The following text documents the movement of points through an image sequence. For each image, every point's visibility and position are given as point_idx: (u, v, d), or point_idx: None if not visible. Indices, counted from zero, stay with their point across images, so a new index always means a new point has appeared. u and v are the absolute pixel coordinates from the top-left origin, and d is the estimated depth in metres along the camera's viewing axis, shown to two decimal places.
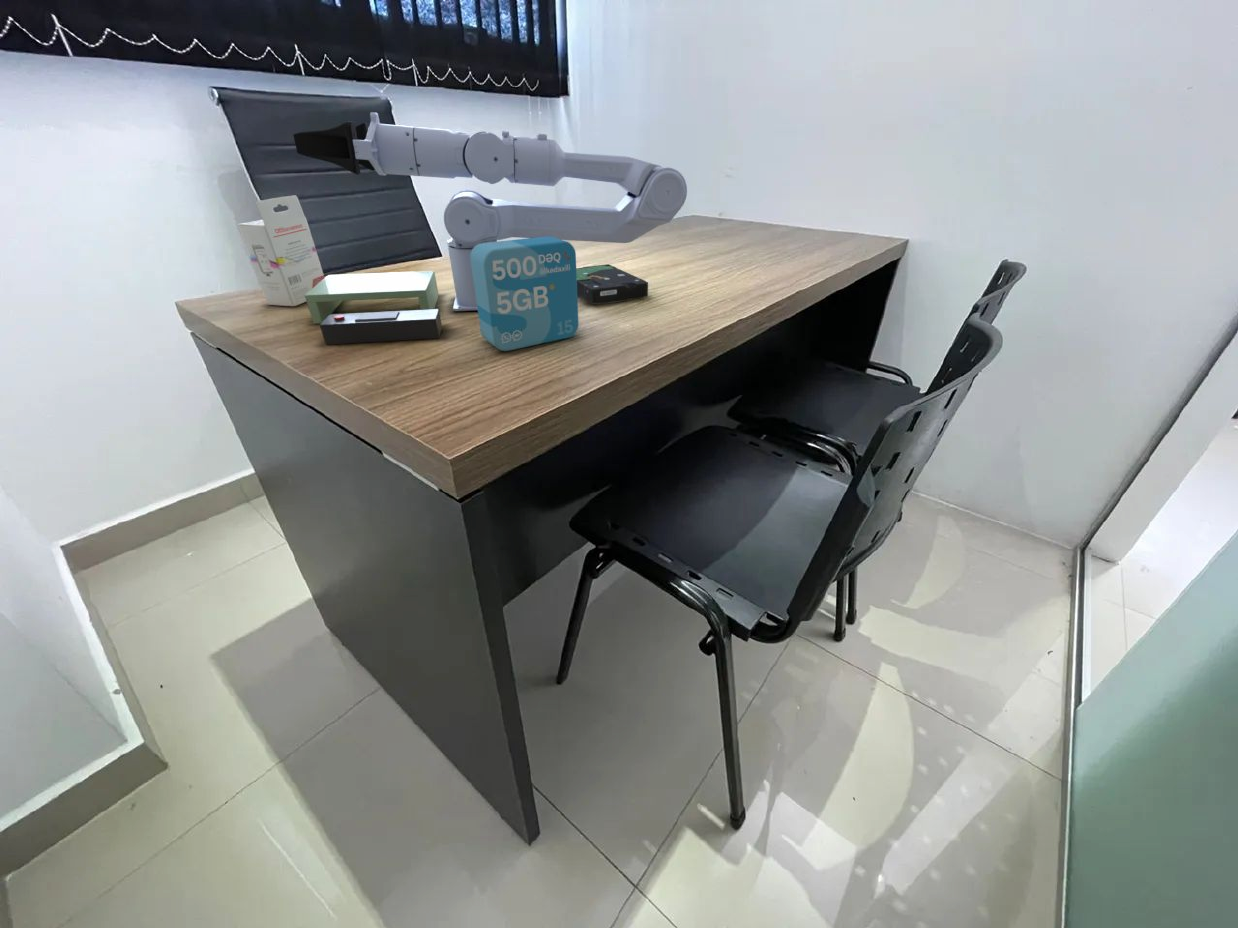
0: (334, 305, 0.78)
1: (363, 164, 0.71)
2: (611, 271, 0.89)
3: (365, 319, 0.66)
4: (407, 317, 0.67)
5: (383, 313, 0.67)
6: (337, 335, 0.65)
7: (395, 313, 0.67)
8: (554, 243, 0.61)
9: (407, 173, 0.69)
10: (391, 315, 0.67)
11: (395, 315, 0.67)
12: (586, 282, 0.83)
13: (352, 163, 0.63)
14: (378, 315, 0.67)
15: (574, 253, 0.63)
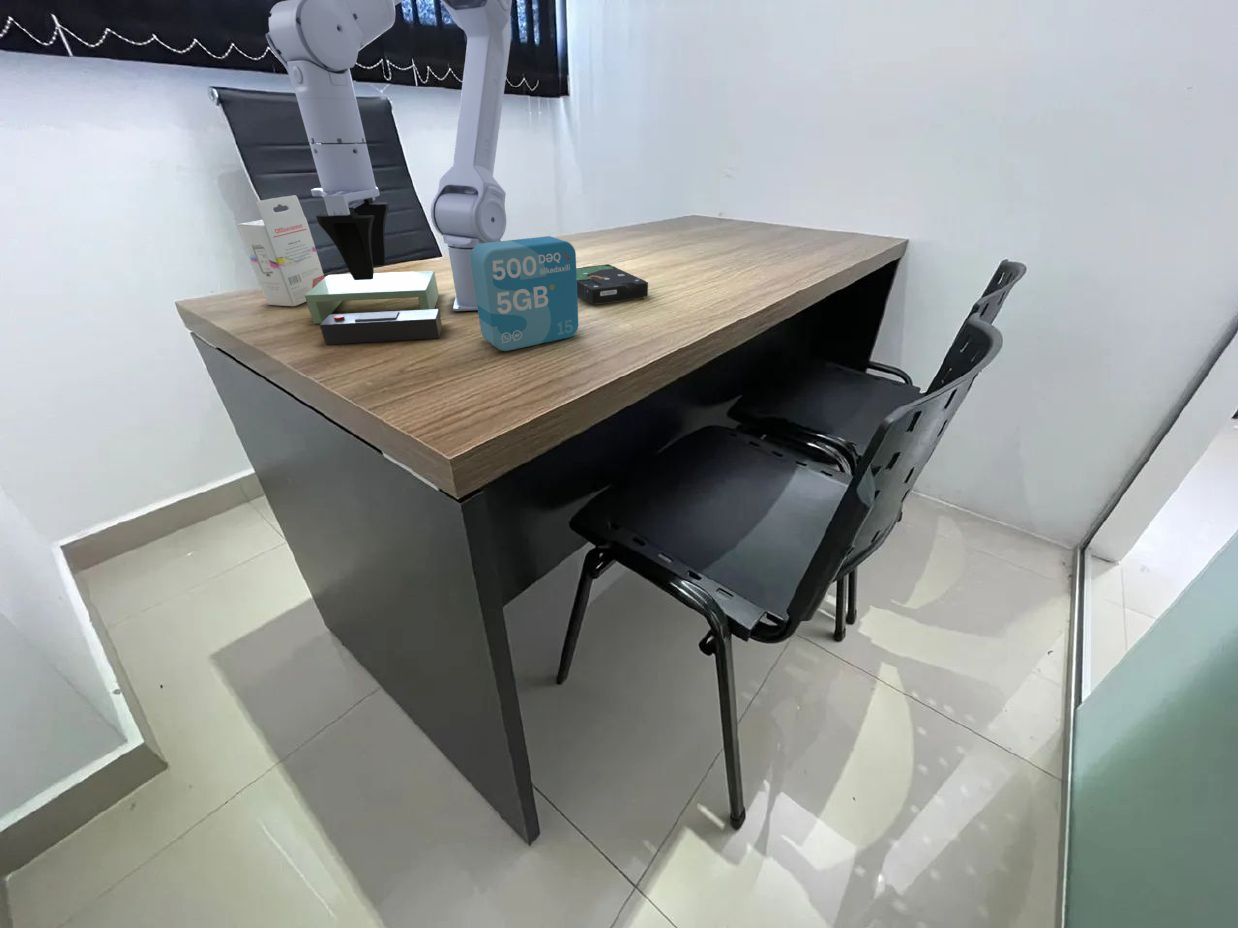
0: (334, 305, 0.78)
1: (382, 216, 0.64)
2: (611, 271, 0.89)
3: (365, 319, 0.66)
4: (407, 317, 0.67)
5: (383, 313, 0.67)
6: (337, 335, 0.65)
7: (395, 313, 0.67)
8: (554, 243, 0.61)
9: (363, 158, 0.57)
10: (391, 315, 0.67)
11: (395, 315, 0.67)
12: (586, 282, 0.83)
13: (358, 221, 0.56)
14: (378, 315, 0.67)
15: (574, 253, 0.63)
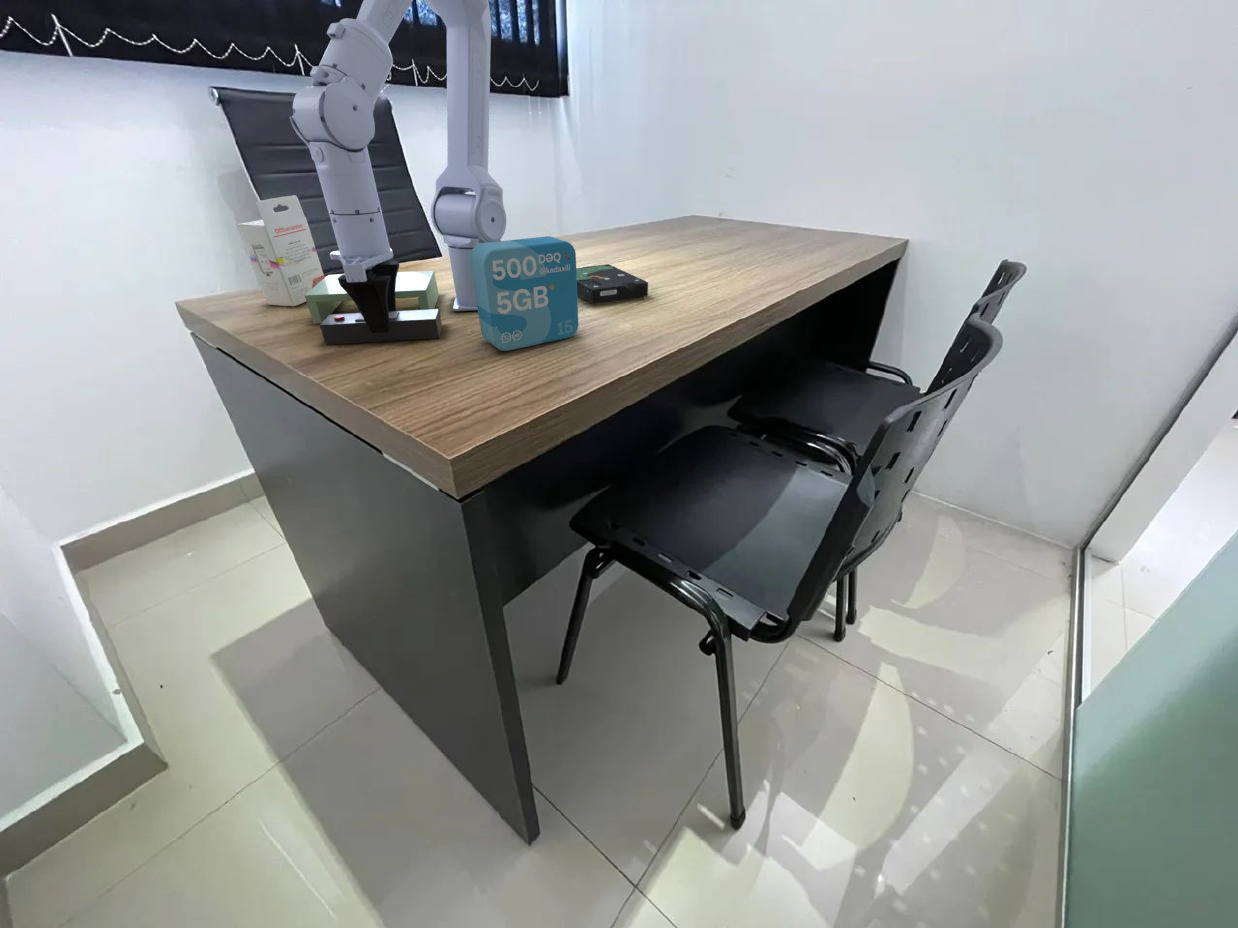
0: (334, 305, 0.78)
1: (393, 275, 0.67)
2: (611, 271, 0.89)
3: None
4: (407, 317, 0.67)
5: None
6: (337, 335, 0.65)
7: (395, 313, 0.67)
8: (554, 243, 0.61)
9: (379, 226, 0.60)
10: (391, 315, 0.67)
11: (395, 315, 0.67)
12: (586, 282, 0.83)
13: (376, 282, 0.60)
14: None
15: (574, 253, 0.63)
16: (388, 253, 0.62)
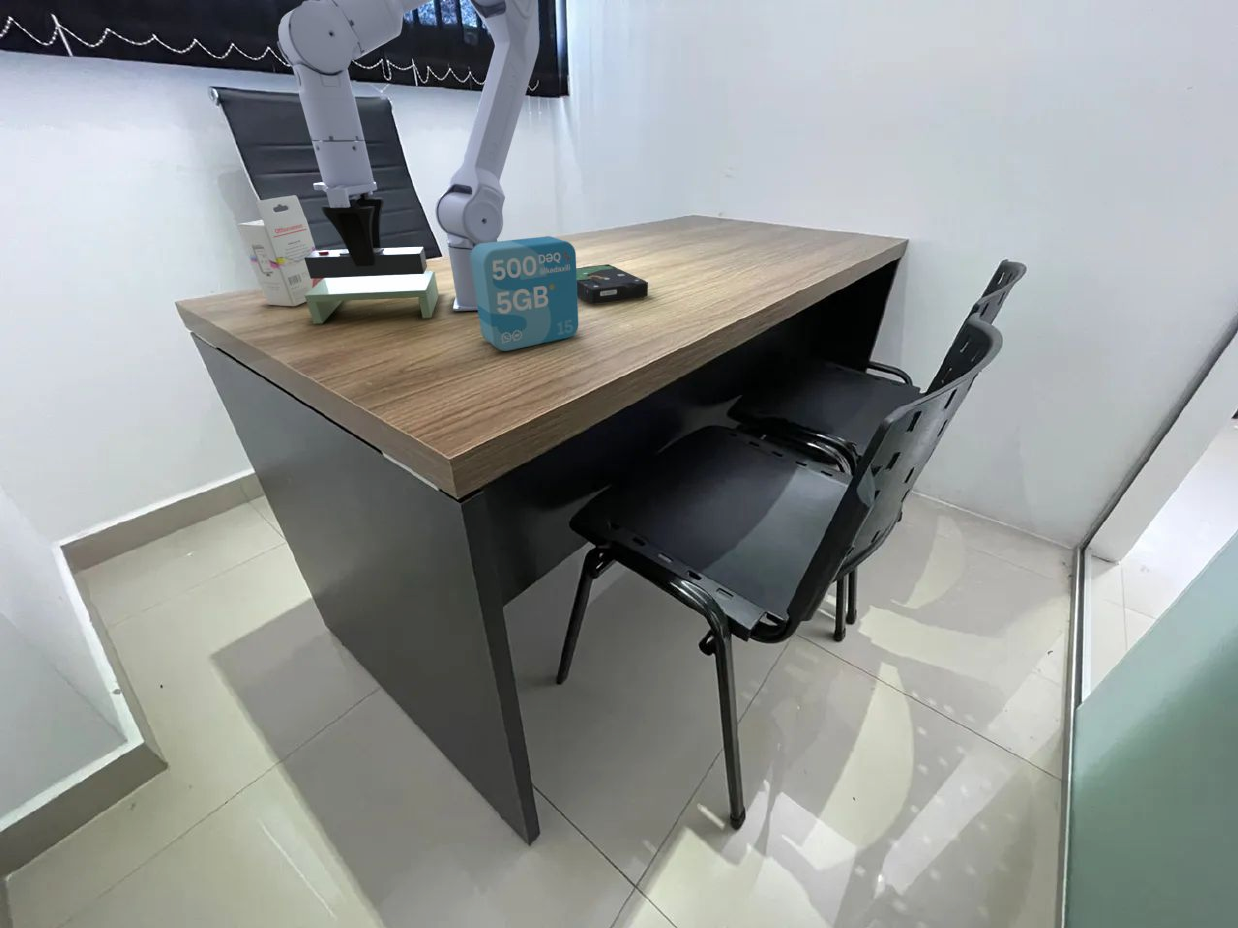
0: (334, 305, 0.78)
1: (377, 210, 0.67)
2: (611, 271, 0.89)
3: None
4: (391, 252, 0.67)
5: None
6: (321, 268, 0.66)
7: (380, 249, 0.68)
8: (554, 243, 0.61)
9: (362, 155, 0.61)
10: (375, 250, 0.67)
11: (379, 250, 0.67)
12: (586, 282, 0.83)
13: (360, 211, 0.61)
14: None
15: (574, 253, 0.63)
16: (372, 184, 0.63)
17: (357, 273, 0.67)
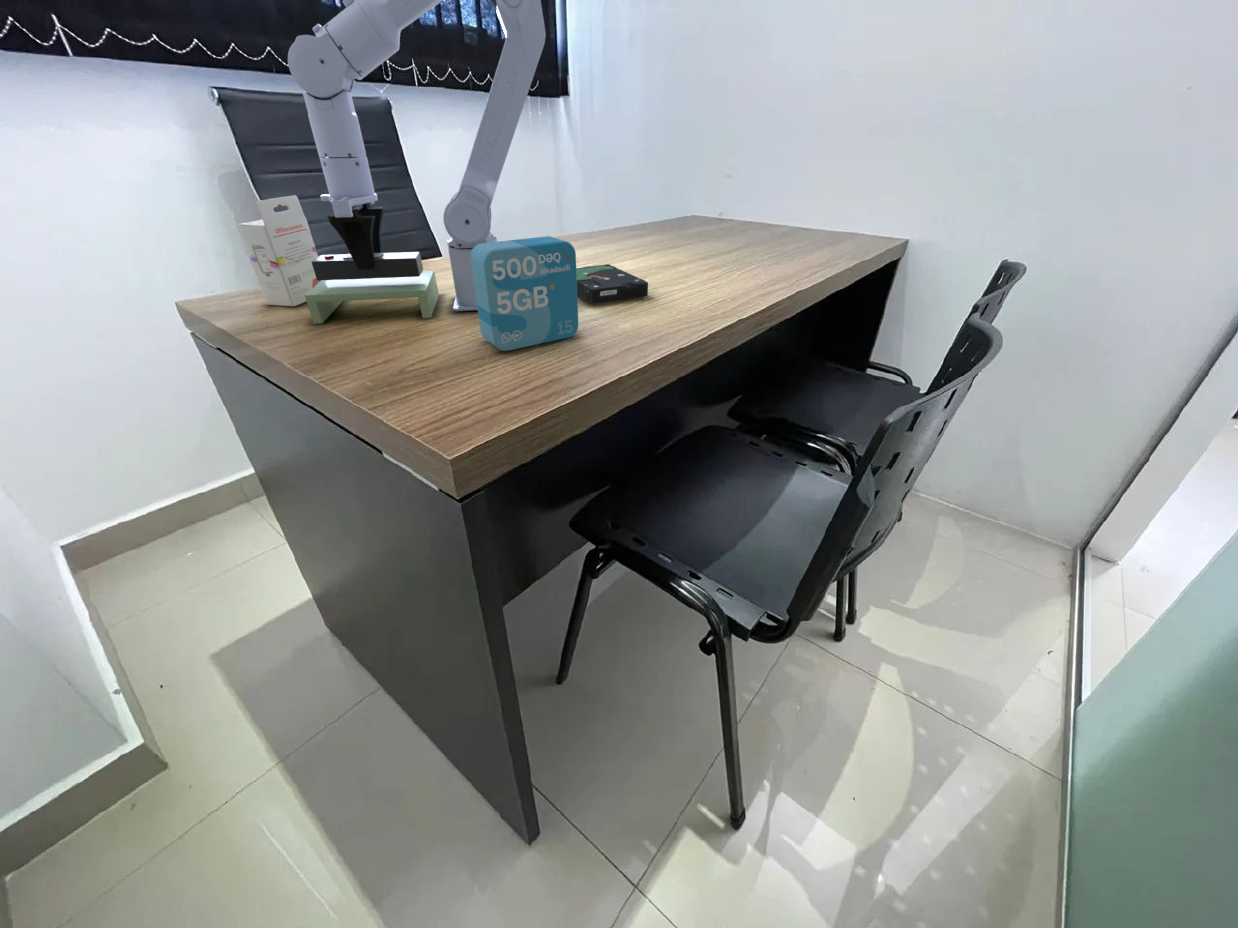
0: (334, 305, 0.78)
1: (378, 218, 0.74)
2: (611, 271, 0.89)
3: None
4: (390, 257, 0.74)
5: None
6: (327, 271, 0.72)
7: (380, 254, 0.75)
8: (554, 243, 0.61)
9: (364, 170, 0.68)
10: (375, 255, 0.74)
11: (379, 255, 0.74)
12: (586, 282, 0.83)
13: (362, 220, 0.68)
14: None
15: (574, 253, 0.63)
16: (373, 196, 0.70)
17: (359, 275, 0.73)
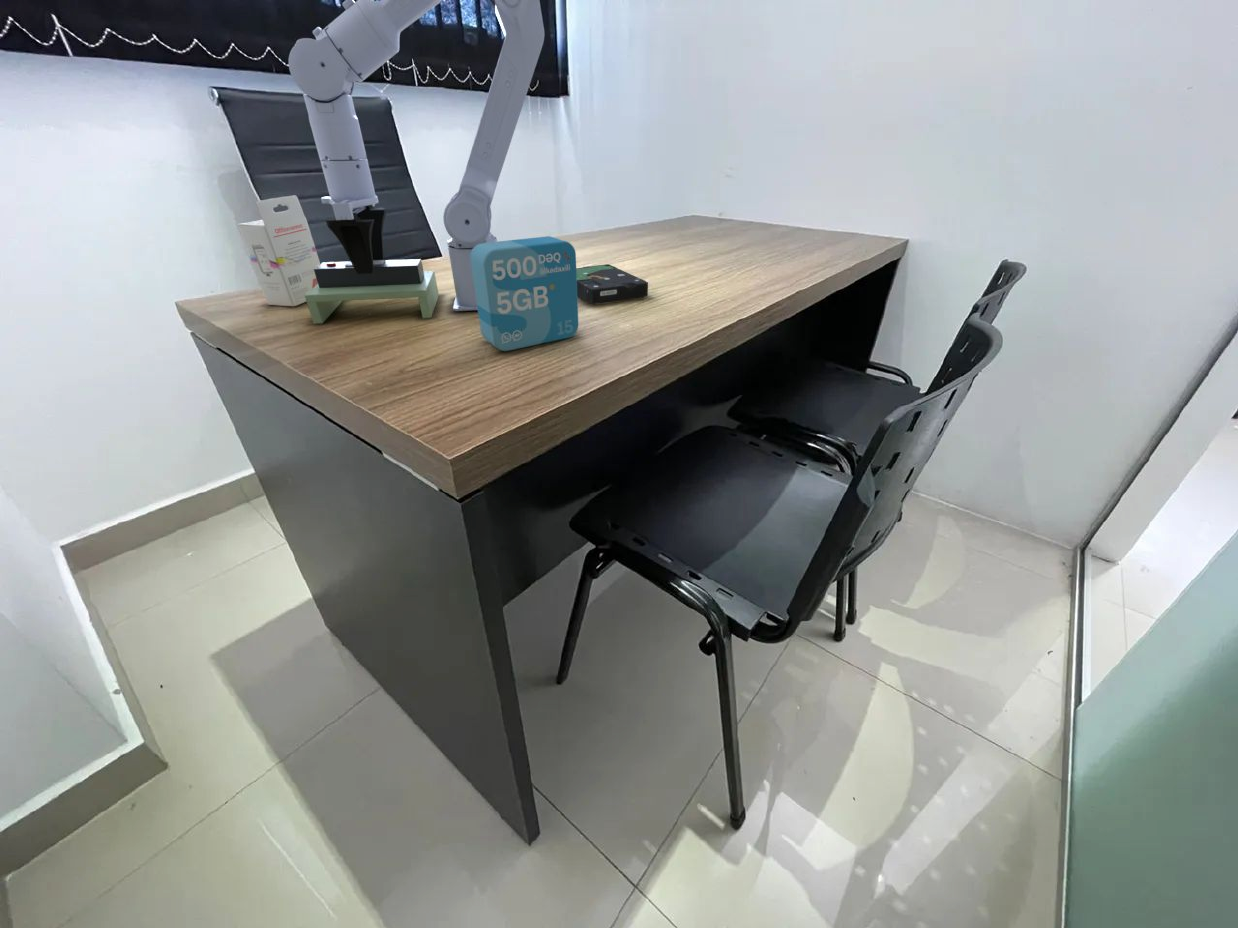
0: (334, 305, 0.78)
1: (380, 219, 0.75)
2: (611, 271, 0.89)
3: None
4: (392, 264, 0.75)
5: None
6: (329, 279, 0.73)
7: (381, 261, 0.75)
8: (554, 243, 0.61)
9: (365, 172, 0.68)
10: (377, 262, 0.75)
11: (381, 262, 0.75)
12: (586, 282, 0.83)
13: (360, 224, 0.67)
14: None
15: (574, 253, 0.63)
16: (373, 198, 0.70)
17: (361, 283, 0.74)
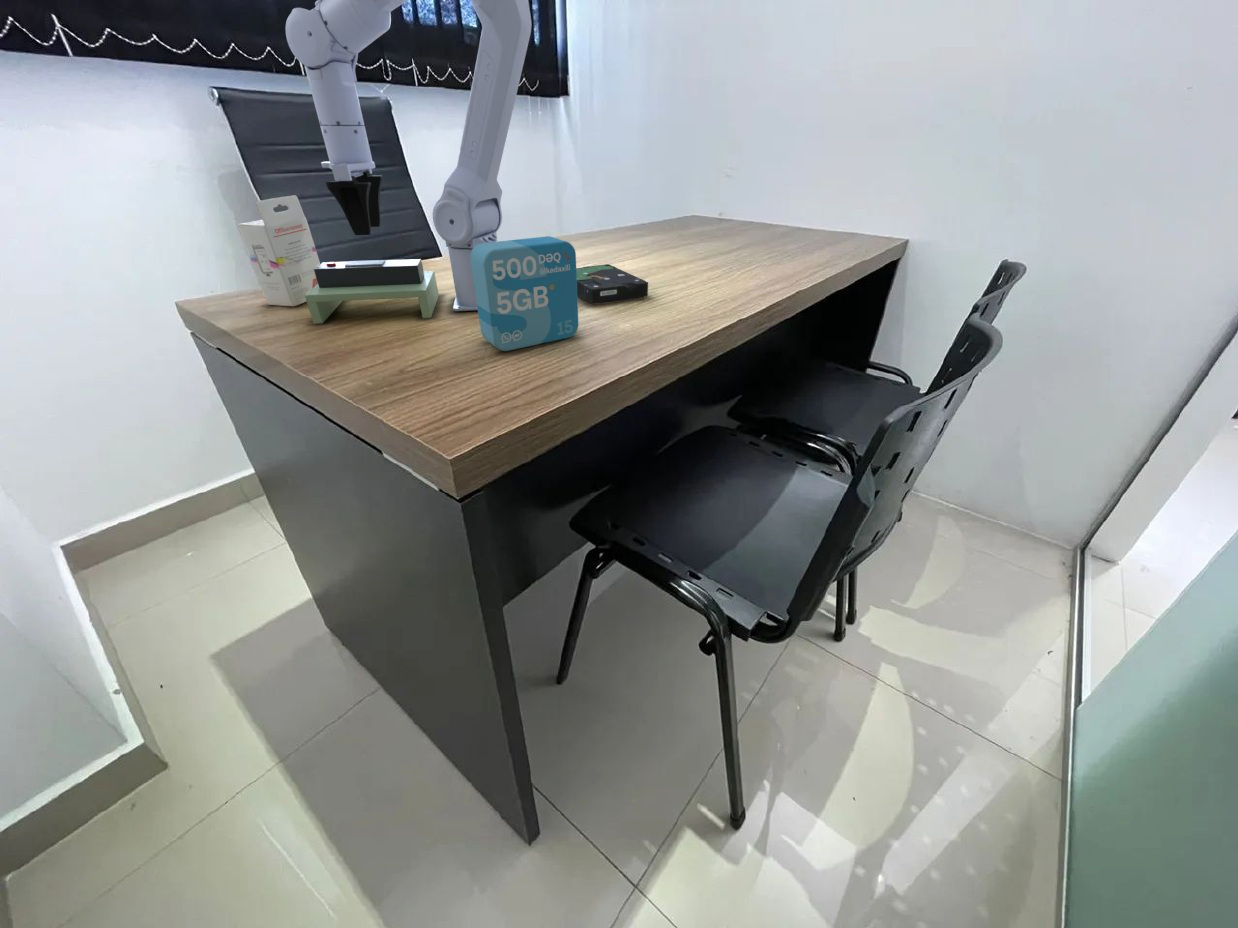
0: (334, 305, 0.78)
1: (377, 185, 0.80)
2: (611, 271, 0.89)
3: (354, 265, 0.73)
4: (392, 264, 0.75)
5: (370, 261, 0.75)
6: (329, 279, 0.73)
7: (381, 261, 0.75)
8: (554, 243, 0.61)
9: (362, 138, 0.72)
10: (377, 262, 0.75)
11: (381, 262, 0.75)
12: (586, 282, 0.83)
13: (358, 186, 0.71)
14: (366, 262, 0.75)
15: (574, 253, 0.63)
16: (370, 163, 0.74)
17: (361, 283, 0.74)
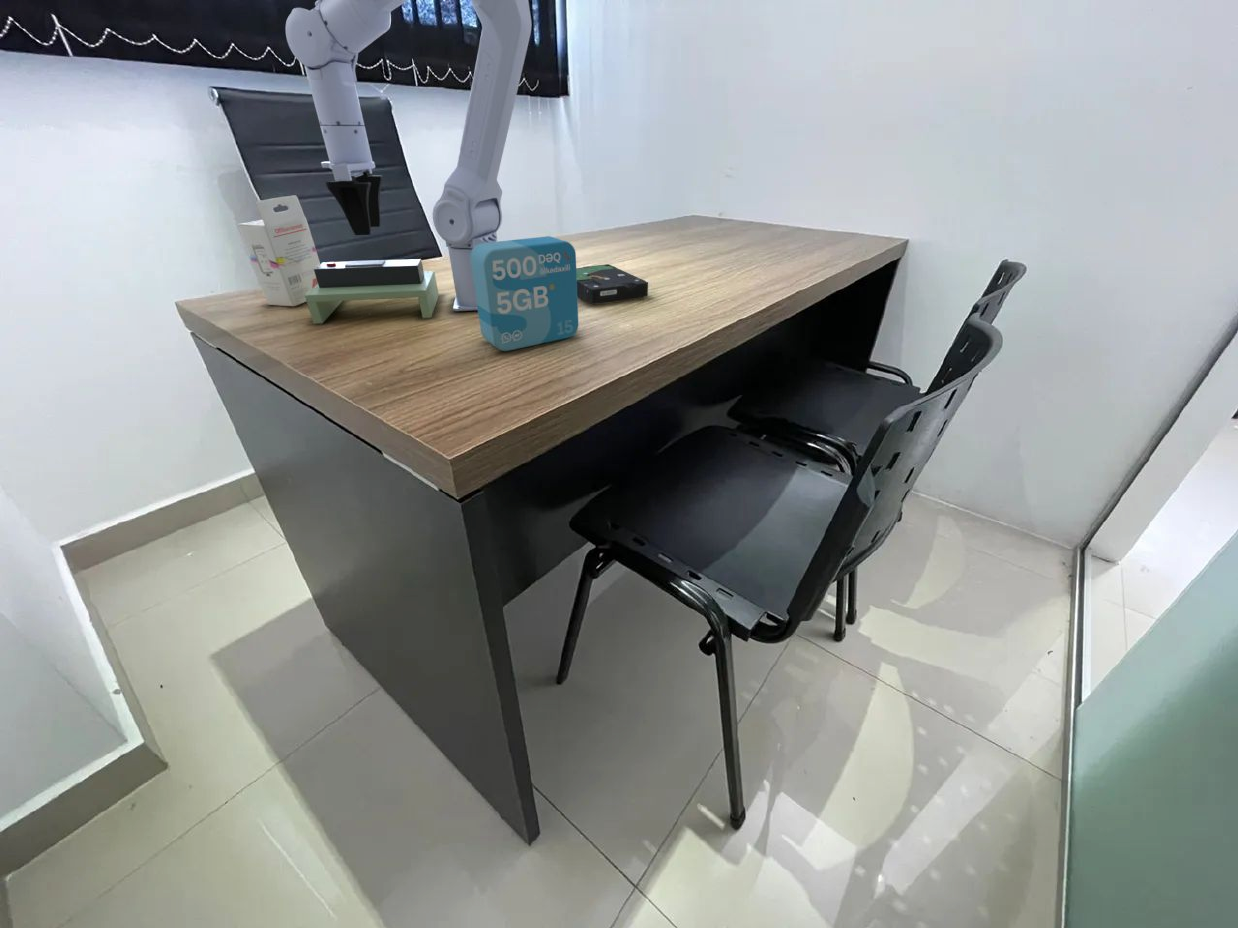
0: (334, 305, 0.78)
1: (377, 185, 0.80)
2: (611, 271, 0.89)
3: (354, 265, 0.73)
4: (392, 264, 0.75)
5: (370, 261, 0.75)
6: (329, 279, 0.73)
7: (381, 261, 0.75)
8: (554, 243, 0.61)
9: (362, 138, 0.72)
10: (377, 262, 0.75)
11: (381, 262, 0.75)
12: (586, 282, 0.83)
13: (358, 186, 0.71)
14: (366, 262, 0.75)
15: (574, 253, 0.63)
16: (370, 163, 0.74)
17: (361, 283, 0.74)
